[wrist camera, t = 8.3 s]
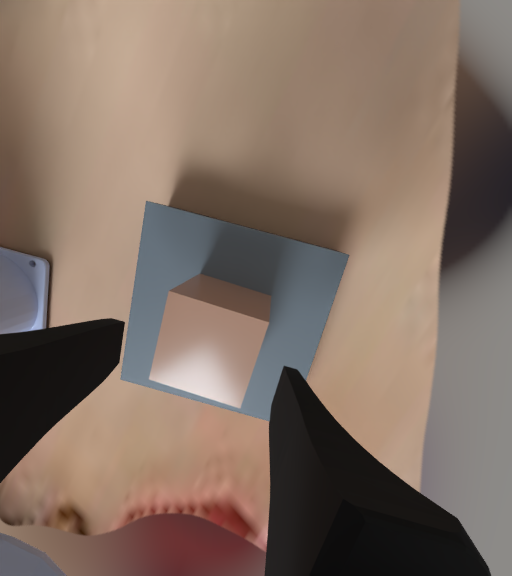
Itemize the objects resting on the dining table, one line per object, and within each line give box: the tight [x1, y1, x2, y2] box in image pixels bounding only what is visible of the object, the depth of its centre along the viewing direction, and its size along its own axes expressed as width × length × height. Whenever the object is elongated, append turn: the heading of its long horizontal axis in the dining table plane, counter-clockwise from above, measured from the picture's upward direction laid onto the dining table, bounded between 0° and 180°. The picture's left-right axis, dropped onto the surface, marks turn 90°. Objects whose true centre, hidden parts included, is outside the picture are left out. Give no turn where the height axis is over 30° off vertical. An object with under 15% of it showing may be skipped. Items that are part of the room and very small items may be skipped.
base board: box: [121, 201, 349, 421], centre depth 17 cm, size 12×12×3 cm
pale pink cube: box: [149, 274, 271, 408], centre depth 13 cm, size 4×4×4 cm
